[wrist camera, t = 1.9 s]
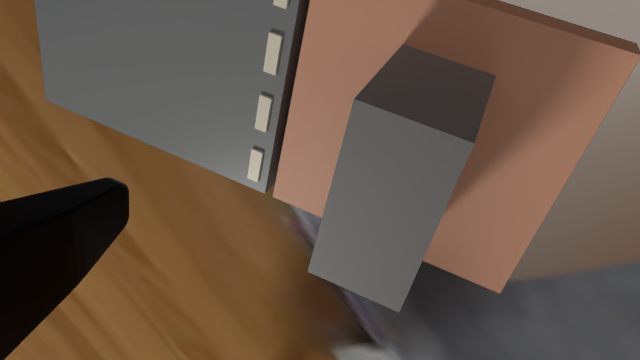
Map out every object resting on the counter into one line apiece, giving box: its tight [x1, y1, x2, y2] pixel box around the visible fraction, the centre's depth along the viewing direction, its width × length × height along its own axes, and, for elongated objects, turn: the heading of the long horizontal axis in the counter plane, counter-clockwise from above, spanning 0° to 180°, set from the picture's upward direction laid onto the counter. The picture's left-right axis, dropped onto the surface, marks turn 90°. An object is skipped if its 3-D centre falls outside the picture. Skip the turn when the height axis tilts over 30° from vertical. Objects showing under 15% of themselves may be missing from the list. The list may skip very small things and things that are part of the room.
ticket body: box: [34, 0, 310, 193], centre depth 17 cm, size 9×8×1 cm
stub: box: [273, 0, 640, 313], centre depth 14 cm, size 8×8×5 cm
